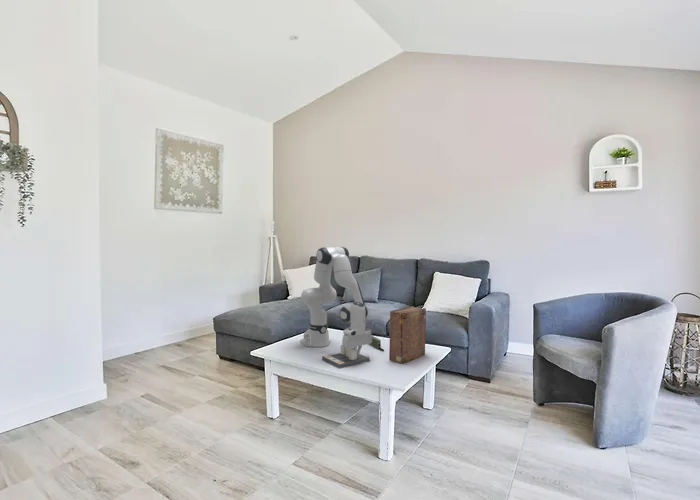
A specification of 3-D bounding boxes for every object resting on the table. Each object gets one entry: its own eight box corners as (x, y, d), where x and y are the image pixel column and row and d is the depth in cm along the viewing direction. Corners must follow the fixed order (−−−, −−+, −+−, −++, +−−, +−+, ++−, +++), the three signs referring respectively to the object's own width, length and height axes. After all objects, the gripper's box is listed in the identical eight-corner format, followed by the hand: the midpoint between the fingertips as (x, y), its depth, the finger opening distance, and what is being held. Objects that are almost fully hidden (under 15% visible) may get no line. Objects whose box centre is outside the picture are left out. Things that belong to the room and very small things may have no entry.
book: (412, 351, 252) (414, 305, 251) (425, 354, 245) (426, 307, 244) (389, 360, 233) (390, 311, 232) (401, 364, 227) (402, 313, 226)
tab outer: (348, 358, 228) (348, 350, 228) (353, 357, 230) (353, 349, 230) (352, 360, 225) (352, 351, 225) (356, 359, 228) (356, 350, 227)
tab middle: (345, 355, 234) (346, 347, 233) (350, 354, 236) (350, 346, 235) (349, 357, 231) (349, 348, 231) (353, 356, 233) (353, 347, 233)
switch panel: (322, 359, 232) (322, 356, 232) (351, 353, 245) (351, 350, 245) (339, 368, 218) (339, 364, 218) (369, 361, 231) (369, 357, 231)
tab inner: (340, 353, 238) (340, 345, 238) (345, 352, 240) (345, 344, 240) (343, 354, 235) (343, 346, 235) (348, 353, 238) (348, 345, 237)
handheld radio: (368, 342, 274) (385, 352, 251) (364, 342, 272) (381, 352, 249) (368, 332, 273) (385, 341, 250) (364, 333, 272) (381, 342, 249)
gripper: (367, 326, 238) (367, 348, 239) (341, 331, 226) (340, 354, 226) (374, 328, 233) (374, 351, 234) (347, 333, 221) (347, 357, 221)
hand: (357, 353), depth 230 cm, fingers closed
